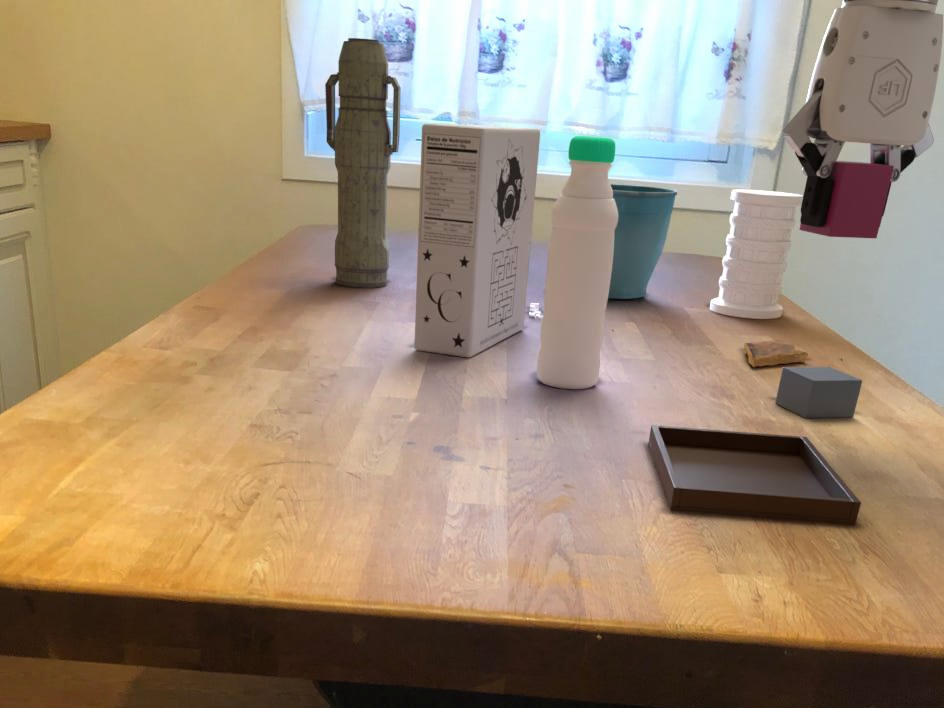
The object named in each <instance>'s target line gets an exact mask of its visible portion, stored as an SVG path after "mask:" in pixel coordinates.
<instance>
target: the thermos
mask: <svg viewBox="0 0 944 708" xmlns="http://www.w3.org/2000/svg"><path fill="white" fill-rule="evenodd" d="M388 60H389V59H388V56H387V52H386V48H385V45H384V43H380V40H378V39H372V38H371V39H370V38H357V37H348V38H347V40H344V41H343V42H342V47H341V50H340V53H339V57H338V61H337V62H338V63H337V65H338V72H336V73H333V74H330V75H329V77H328V78H327V81H326V82H325V84H324V89H325V91H324V92H325V114H326V115H325V116H326V117H325V118H326V143H327V145H328V146H329V147H330V149H332V150H333V152H334V166H335V168H336V171H337V234H336V237H335V240H334V267H335V284H337V285H340V286H343V287H352V288H364V289H365V288H369V289H370V288H371V289H373V288H383V287H386V286H388V271H389V268H390V244H389V243H390V242H389V239H388V236H387V210H388V209H387V207H388V205H387V202H388V201H387V200H388V174H389V172H390V170H391V156H392V155H393V154H394V153H399V146H400V133H401V131H400V130H401V129H400V128H401V91H402V90H401V89H402V87H401V86H400V84H399V82H398V79H397V77H395V76H392V75H389V61H388ZM337 83H338V97H339V107H338V115H337V119H336V85H337ZM389 85H391V87H392V89H393V93H392V94H393V95H392V96H393V97H392V99H393V101H392V108H393V109H392V129H391V127H390V124H389V120H388V119H389V118H388V114H389V113H388V112H389V111H388V110H387V101H388V100H389ZM391 130H392V131H391Z"/></svg>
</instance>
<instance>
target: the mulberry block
mask: <svg viewBox="0 0 944 708" xmlns="http://www.w3.org/2000/svg"><path fill="white" fill-rule="evenodd" d="M893 168H894V166H892V165H882V164H873V163H870V162H863V161H846V160H836V163H835V165H834V167H833V169H832V171H831V174H830V177H829V178H830V179H834V187H833V192H832V196H831V201H830V205H829V210H828V214H827V219H826V223H825V225H824V226H823V227H813V226H809V225H804V224H801V223H800V224H799V231H801V232H806V233H811V234H815V235H816V234H817V235H819V236H823V237H824V236H825V237H829V238H852V239H853V238H854V239H877V238H878V234H879V229H880V227H881V224H880V222H881V223H882V220H881V218H882V219H883V217H882V214H883V210H884V205H885V201H886V197H887V193H888V189H889V185H890V181H891V177H892V172H893ZM879 226H880V227H879Z"/></svg>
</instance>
